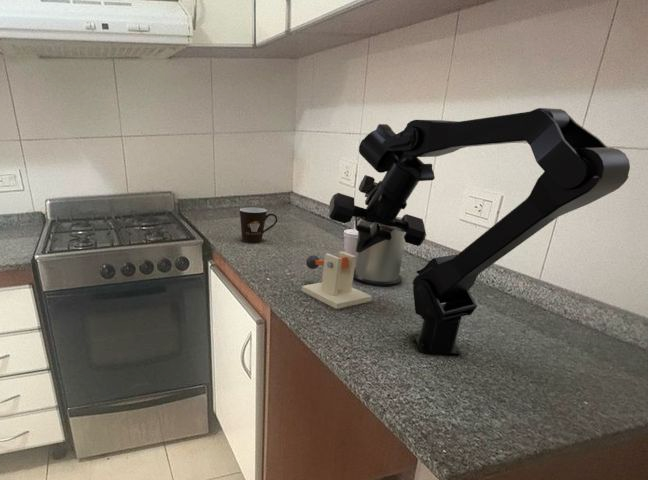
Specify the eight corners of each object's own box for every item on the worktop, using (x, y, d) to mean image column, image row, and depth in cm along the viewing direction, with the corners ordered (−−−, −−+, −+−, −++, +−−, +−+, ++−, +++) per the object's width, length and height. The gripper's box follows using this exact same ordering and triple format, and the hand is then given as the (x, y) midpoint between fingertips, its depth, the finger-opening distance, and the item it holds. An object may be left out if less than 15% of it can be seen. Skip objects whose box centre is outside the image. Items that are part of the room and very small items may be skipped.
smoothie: (334, 264, 122) (340, 213, 116) (354, 262, 124) (361, 212, 118) (348, 271, 116) (355, 218, 111) (368, 269, 119) (376, 217, 113)
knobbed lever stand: (301, 292, 102) (304, 250, 98) (334, 285, 106) (339, 245, 102) (336, 310, 92) (342, 265, 88) (371, 302, 97) (378, 259, 93)
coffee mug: (235, 242, 142) (236, 211, 138) (243, 236, 149) (244, 206, 145) (270, 246, 138) (272, 214, 134) (276, 240, 146) (278, 209, 142)
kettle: (372, 293, 102) (383, 222, 95) (335, 278, 111) (343, 212, 105) (416, 281, 110) (430, 215, 103) (379, 268, 119) (389, 207, 112)
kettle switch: (303, 269, 105) (303, 256, 104) (314, 267, 106) (313, 254, 106) (338, 271, 94) (337, 256, 94) (349, 269, 96) (349, 254, 95)
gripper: (437, 180, 86) (396, 240, 98) (347, 151, 85) (316, 216, 97) (446, 212, 79) (400, 273, 90) (347, 181, 78) (314, 247, 89)
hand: (357, 251), depth 92 cm, fingers closed
